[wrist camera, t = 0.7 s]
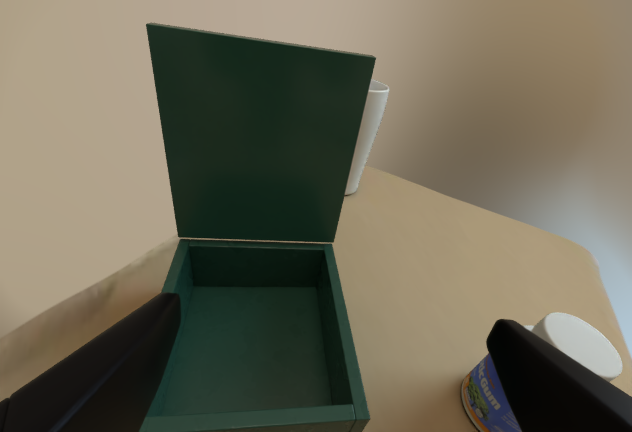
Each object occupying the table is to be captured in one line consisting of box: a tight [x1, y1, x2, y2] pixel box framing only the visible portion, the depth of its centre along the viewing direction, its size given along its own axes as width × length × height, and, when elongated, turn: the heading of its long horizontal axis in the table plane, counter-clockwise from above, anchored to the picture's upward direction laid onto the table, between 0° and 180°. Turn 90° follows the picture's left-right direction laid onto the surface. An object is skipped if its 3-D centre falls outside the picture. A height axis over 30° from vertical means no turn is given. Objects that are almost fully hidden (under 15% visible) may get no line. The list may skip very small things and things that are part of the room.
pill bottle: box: [461, 313, 622, 432], centre depth 20 cm, size 5×5×10 cm
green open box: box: [139, 239, 370, 432], centre depth 22 cm, size 14×13×6 cm
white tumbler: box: [345, 79, 389, 195], centre depth 41 cm, size 7×7×15 cm
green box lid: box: [146, 23, 376, 242], centre depth 23 cm, size 14×13×4 cm
